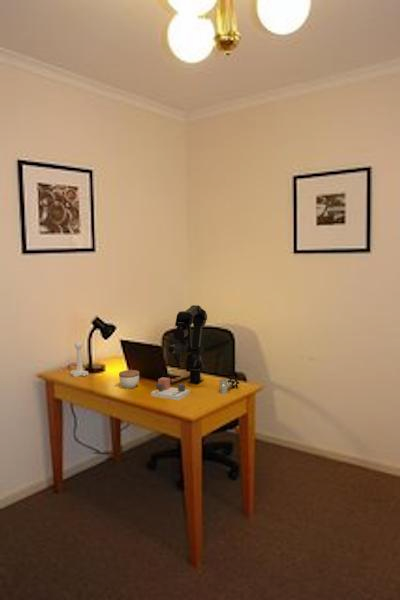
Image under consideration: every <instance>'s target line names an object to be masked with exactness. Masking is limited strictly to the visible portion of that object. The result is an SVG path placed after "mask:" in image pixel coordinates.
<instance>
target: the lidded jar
mask: <svg viewBox="0 0 400 600" xmlns="http://www.w3.org/2000/svg"><path fill="white" fill-rule="evenodd" d="M118 378H119V383H120V385H121V386H122V387H123V388H124V389H129V390H130V389H134V388H136V386H137V385H138V384H139V381H140V371H139V370H135V369H128V370H122V371H120V372H118Z"/></svg>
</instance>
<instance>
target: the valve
mask: <svg viewBox="0 0 400 600" xmlns="http://www.w3.org/2000/svg"><path fill="white" fill-rule="evenodd" d="M238 380H239V378H238V377H236V376H235V375H232V376H229V377H228V380H227V379H220V380H219V393H220V394H221V395H226V394H228V389H229V388H232V389H235V388H239V385H240V382H239V381H238Z"/></svg>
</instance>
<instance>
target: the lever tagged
mask: <svg viewBox="0 0 400 600" xmlns="http://www.w3.org/2000/svg"><path fill="white" fill-rule="evenodd" d="M155 386H156V387H155V388H156V389H155V390H159V391H163V385H162V384H158V383H157V384H156V385H155Z"/></svg>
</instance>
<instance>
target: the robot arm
mask: <svg viewBox="0 0 400 600" xmlns="http://www.w3.org/2000/svg"><path fill="white" fill-rule="evenodd" d="M175 319H176V320H175V325H174V326H175V327H176V329H174V330H173V334H172V335H173V339H175V340H176V341H178V342H177V343H176V344H175V343H174V344H171V345H169V346H168V347H167V352H169V353H170V354H171V355H173V357H174V359H175V362H176V364H177V366H180V364H181V355H182V354H183V353H184V352H186V353H187V352H188V353H189V354H187V356H186V357H187V358H186V361H185V369H186V372H189V380H188V381H187V383H191V384H196V385H198V384H200V383H202V382H204V379H202V378H201V377H202V374H201V373H202V372H204V371H205V366H204V363H203V360H202V358H203V357H201V355H203V354H205V348H204V347H203V346H201V342H202V332H203V328H204V327H205V325H206V323H207V321H208V313H207V311H206V310H205V309H204V308H202V307H201V306H200V305H196V304H195V305H191V306H190V307H189V308H187V309H186V310H181V311H178V312H177V314H176V318H175ZM192 325H193V326H192ZM192 327H193V332H192ZM192 333H193V334H192Z"/></svg>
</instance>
